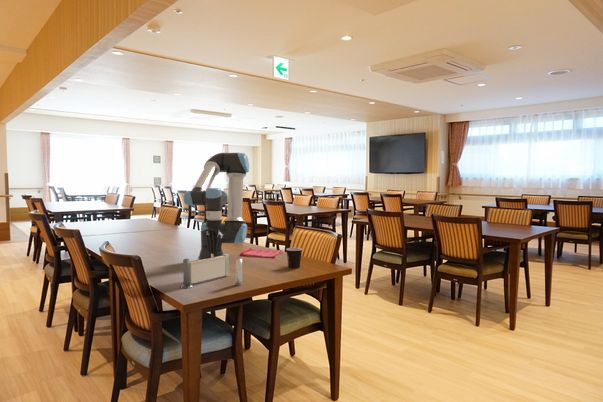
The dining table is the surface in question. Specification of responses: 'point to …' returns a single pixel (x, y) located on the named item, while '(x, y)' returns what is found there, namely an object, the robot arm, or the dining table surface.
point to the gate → (205, 269)
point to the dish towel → (261, 253)
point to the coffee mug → (294, 257)
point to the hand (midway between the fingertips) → (214, 266)
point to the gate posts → (238, 274)
